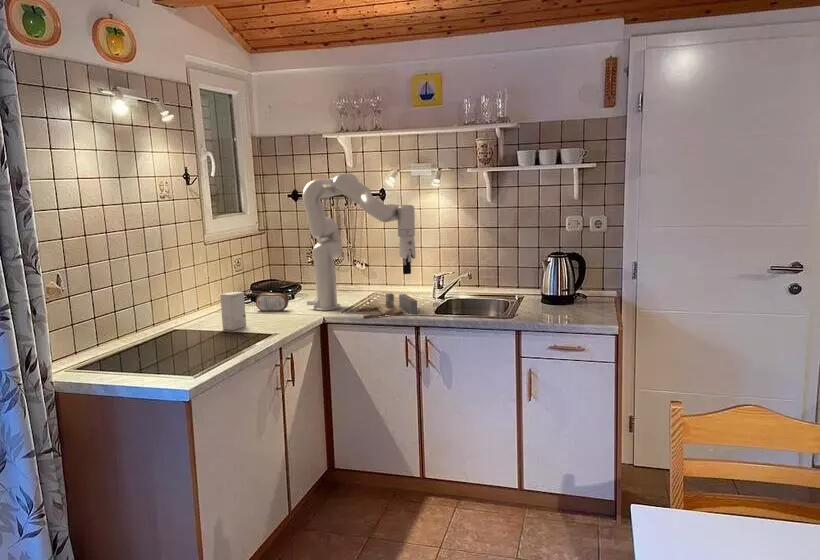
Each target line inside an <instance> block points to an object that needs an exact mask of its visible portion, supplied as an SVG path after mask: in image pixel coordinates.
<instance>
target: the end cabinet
mask: <svg viewBox="0 0 820 560" xmlns="http://www.w3.org/2000/svg"><path fill="white" fill-rule="evenodd" d="M398 297H399V298H398V304H399V305H398V306H399V307H400V308H402V311H404V312H406V313H407V312H408V314H409V315H410V314H415V315H418V300H416V299H415V298H413V297H411V296H410V295H409V294H406V293H402V294H401V293H400V294H398ZM408 298H412V299H413V300H408Z"/></svg>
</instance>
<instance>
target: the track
mask: <svg viewBox="0 0 820 560" xmlns="http://www.w3.org/2000/svg"><path fill="white" fill-rule="evenodd" d="M355 310H356V311H355V312H356V313H362V311H364V312H371V311H372V312H373V311H374V310H375V311H379V309H378V306H377V307H376V306H375V307H366V308H365V307H364V308H356V309H355ZM375 311H374V312H375ZM400 314H403V315H404V311H402V312H394V313H373V314H364V315H362V316H363V319H374V318H380V317H379V316H385V315H396V316H401V315H400ZM385 317H386V316H385Z"/></svg>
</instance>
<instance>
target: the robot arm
mask: <svg viewBox="0 0 820 560" xmlns="http://www.w3.org/2000/svg"><path fill="white" fill-rule="evenodd" d="M340 195H343V196H345V197H346V198H348V199H350V200H351V201H352V202H354V203H356V204H358V205H359V207H360V208H361V209H362V210H364V211H365V213H366V214H368V215H369V216H371V217H373V218H374V219H376V220H378V221H379V222H382V223H389V222H395V221H397V237H399V242H398V243H399V248H398V249H399V256H400V258H401V259H402V273H403V274H404V275H411V274H412V259H416V257H417V256H416V244H415V243H416V242H415V236H416V229H415V225H416V224H415V222H416V221H415V220H416V219H415V216H416V215H415V207H414V205H413V204H396V203H394V204H393V203H389V204H385V203H383V202H381V200H378V199H377V198H376V197H375V196H373V194H372V193H371V189H370V188H369V187H367V186H366V185H365V184H362V183H361V182H359V180H358V177H357V176H356V175H354V174H352V173H339V174H337V175H336V176H335V177H329V178H319V179H313V180H311V181H309V182H308V183H307V184H306V185H305V186H304V188H303V191H302V203H303V206H304V210H305V215H306V219H307V225H308V227H309V233H310V234H311V236H312V238H315V239H318V240H319V239H321V241H319V242H317V243H316V244H315V245H314V247H312V248H313V249H312V252H311V253H312V260H313V264H314V265H313V266H314V276H315V278H314V279H315V294H316V296H315V298H314V299H313V300H307V301H306V305H307V306H313V309H314V310H315V311H323V312H325V311H335V310H338V309H340V308H341V304H340V303H338V294H337V293H338V292H337V276H336V275H337V274H336V266H335V262H334V260H336V259H337V258H339V257H340V256H341V254H342V251H343V246H342V245H343V244H342V242H341V237H340V233H339V228H338V225H337V223H336V221H335V219H333V218H332V217H329V216H326V211H325V208H324V205H323V203H322V201H321V199H324V198H325V199H326V198H332V197H335V196H340Z"/></svg>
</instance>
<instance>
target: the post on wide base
mask: <svg viewBox="0 0 820 560" xmlns="http://www.w3.org/2000/svg"><path fill="white" fill-rule="evenodd" d="M377 307H378V309H379V310H378V311H380V312H381V314H383V313H394V312H403V309H402V308H400V307H399V305H397V304H395V295H394V293H385V304H384V305H378V306H377Z"/></svg>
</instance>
